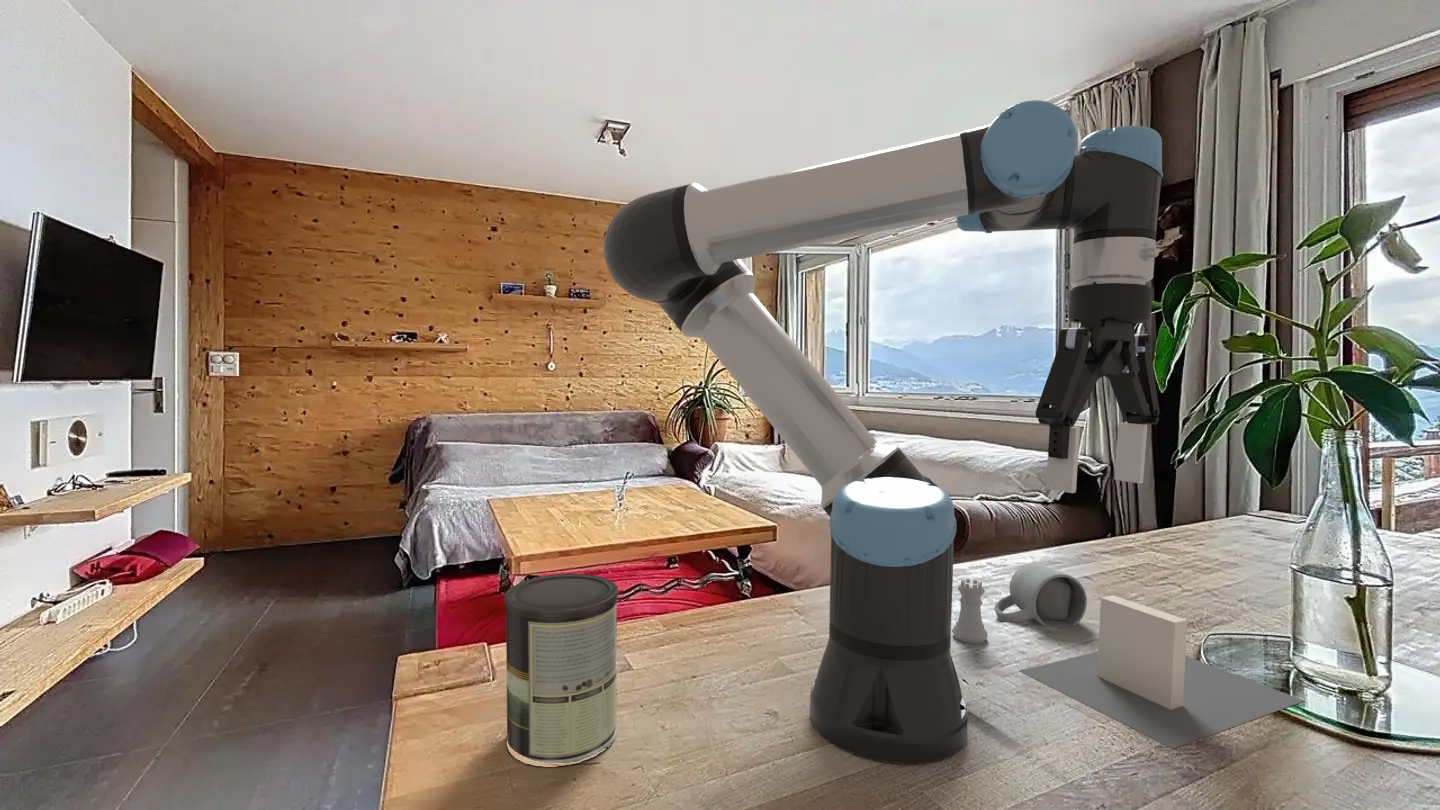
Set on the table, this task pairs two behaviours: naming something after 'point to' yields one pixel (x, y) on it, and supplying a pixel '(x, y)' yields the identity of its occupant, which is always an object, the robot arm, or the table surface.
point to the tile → (1142, 650)
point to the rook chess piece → (970, 614)
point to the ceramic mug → (1043, 596)
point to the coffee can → (561, 666)
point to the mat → (1205, 711)
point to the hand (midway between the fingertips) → (1096, 486)
